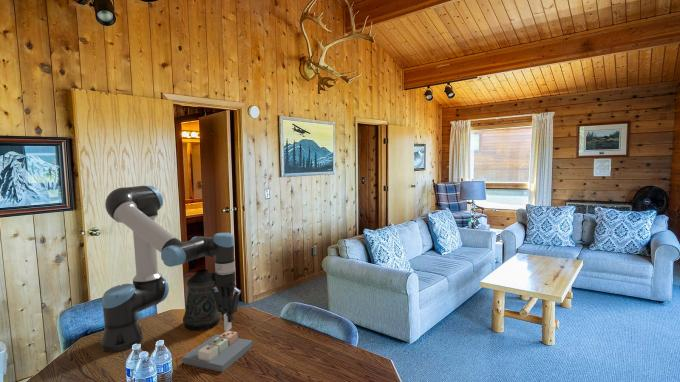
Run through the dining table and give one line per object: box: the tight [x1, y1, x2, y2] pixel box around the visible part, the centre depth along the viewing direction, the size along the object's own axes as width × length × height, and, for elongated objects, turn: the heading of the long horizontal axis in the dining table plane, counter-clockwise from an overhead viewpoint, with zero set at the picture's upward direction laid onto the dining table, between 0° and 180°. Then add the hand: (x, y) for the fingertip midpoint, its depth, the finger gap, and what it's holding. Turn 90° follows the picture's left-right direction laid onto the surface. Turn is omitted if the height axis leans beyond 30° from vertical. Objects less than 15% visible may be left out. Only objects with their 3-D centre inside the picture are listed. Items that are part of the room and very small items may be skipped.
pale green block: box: [209, 337, 228, 353], centre depth 143 cm, size 5×5×4 cm
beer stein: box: [182, 269, 222, 332], centre depth 171 cm, size 16×19×25 cm
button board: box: [181, 333, 254, 373], centre depth 143 cm, size 18×19×2 cm
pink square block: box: [219, 330, 239, 346], centre depth 148 cm, size 5×5×4 cm
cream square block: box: [198, 345, 218, 362], centre depth 137 cm, size 5×5×4 cm
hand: (228, 329), depth 148 cm, fingers closed
